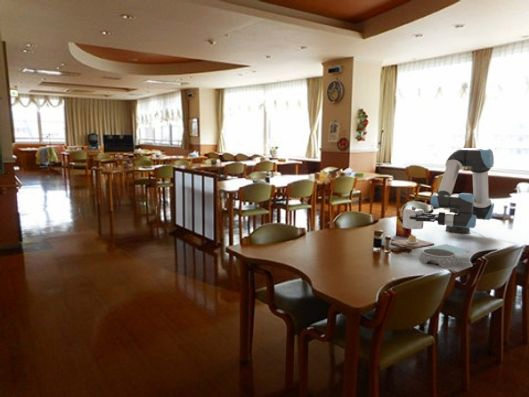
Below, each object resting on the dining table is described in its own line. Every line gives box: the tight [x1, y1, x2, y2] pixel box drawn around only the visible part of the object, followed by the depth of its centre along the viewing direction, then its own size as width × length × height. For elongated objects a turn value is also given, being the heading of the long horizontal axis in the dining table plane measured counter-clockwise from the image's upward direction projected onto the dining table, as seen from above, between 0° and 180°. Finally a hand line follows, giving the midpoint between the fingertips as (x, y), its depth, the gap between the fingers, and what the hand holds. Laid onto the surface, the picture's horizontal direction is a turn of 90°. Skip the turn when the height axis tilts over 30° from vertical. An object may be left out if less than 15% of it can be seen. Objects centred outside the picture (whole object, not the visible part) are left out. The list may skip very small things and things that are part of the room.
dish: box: [406, 234, 418, 244], centre depth 234 cm, size 7×7×5 cm
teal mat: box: [427, 243, 471, 255], centre depth 223 cm, size 16×16×1 cm
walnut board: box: [391, 238, 435, 250], centre depth 235 cm, size 20×16×2 cm
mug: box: [395, 216, 412, 238], centre depth 255 cm, size 10×14×12 cm
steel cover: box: [402, 205, 425, 230], centre depth 232 cm, size 11×11×13 cm
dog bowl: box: [418, 248, 458, 268], centre depth 202 cm, size 17×18×5 cm
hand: (406, 215), depth 234 cm, fingers closed on steel cover, 11 cm apart
